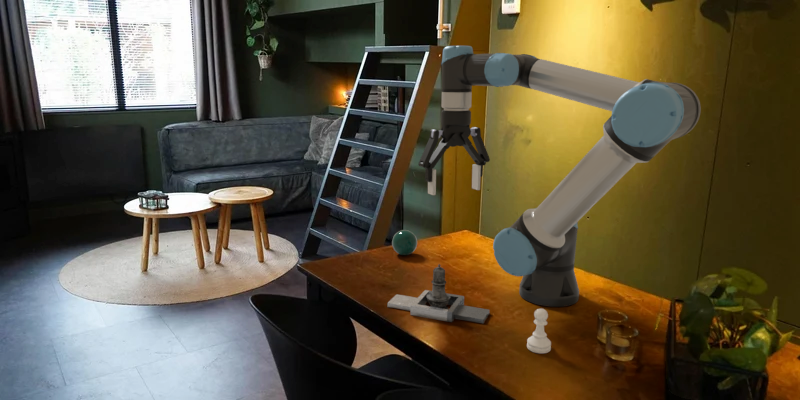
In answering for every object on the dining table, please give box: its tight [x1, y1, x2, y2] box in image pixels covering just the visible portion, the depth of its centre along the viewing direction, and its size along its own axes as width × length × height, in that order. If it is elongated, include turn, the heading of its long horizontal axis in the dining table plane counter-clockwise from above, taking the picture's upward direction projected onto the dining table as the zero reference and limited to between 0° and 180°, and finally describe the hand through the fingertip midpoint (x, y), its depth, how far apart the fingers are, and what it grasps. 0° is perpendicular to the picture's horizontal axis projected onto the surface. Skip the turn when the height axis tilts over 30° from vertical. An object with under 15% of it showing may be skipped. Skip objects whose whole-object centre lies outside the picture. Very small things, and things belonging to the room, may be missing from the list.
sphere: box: [391, 229, 418, 256], centre depth 180 cm, size 8×8×8 cm
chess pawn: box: [526, 307, 552, 354], centre depth 121 cm, size 5×5×9 cm
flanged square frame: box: [387, 289, 490, 324], centre depth 140 cm, size 24×10×2 cm, turn 68°
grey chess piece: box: [427, 263, 451, 310], centre depth 139 cm, size 6×6×12 cm
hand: (454, 191), depth 148 cm, fingers open, 13 cm apart
